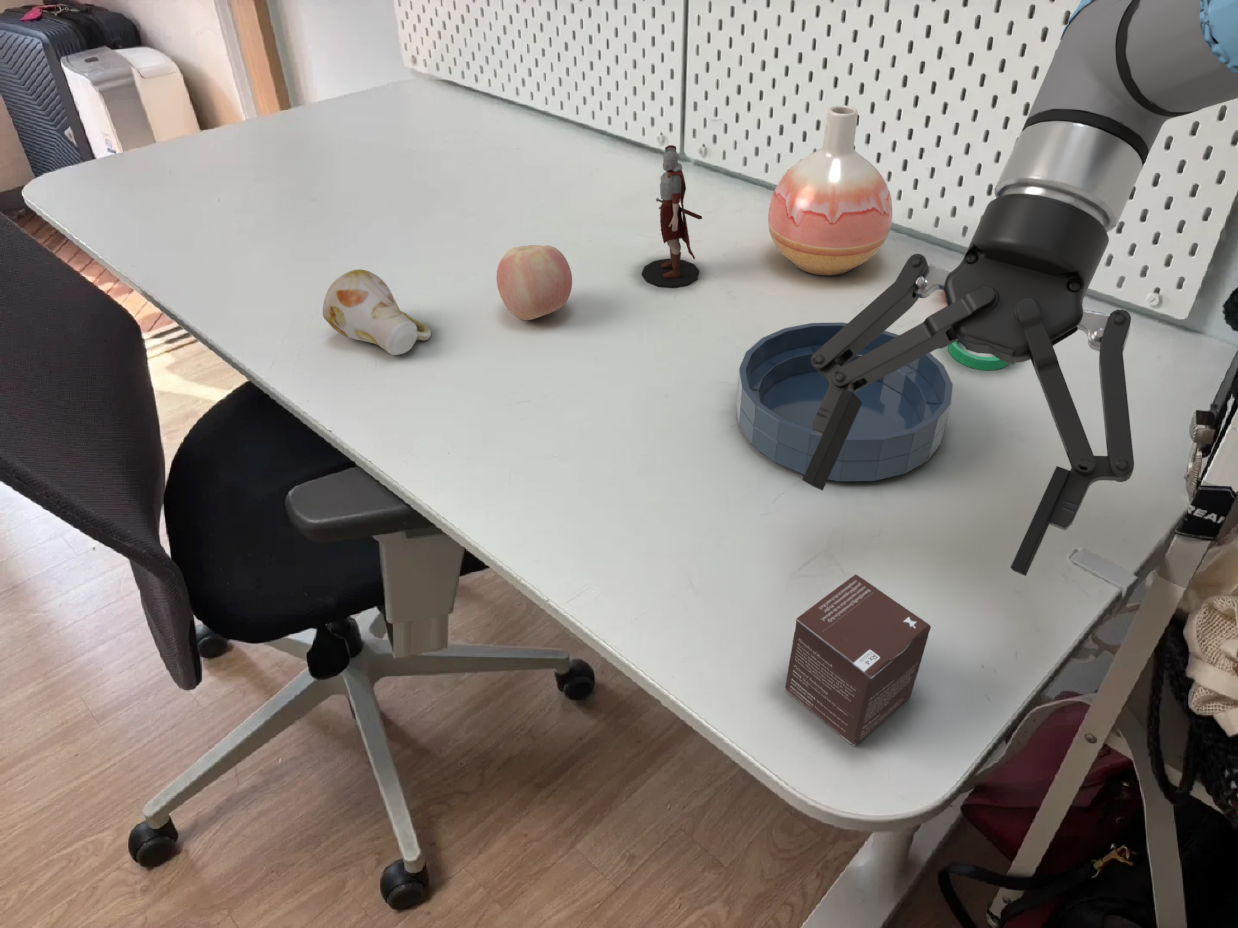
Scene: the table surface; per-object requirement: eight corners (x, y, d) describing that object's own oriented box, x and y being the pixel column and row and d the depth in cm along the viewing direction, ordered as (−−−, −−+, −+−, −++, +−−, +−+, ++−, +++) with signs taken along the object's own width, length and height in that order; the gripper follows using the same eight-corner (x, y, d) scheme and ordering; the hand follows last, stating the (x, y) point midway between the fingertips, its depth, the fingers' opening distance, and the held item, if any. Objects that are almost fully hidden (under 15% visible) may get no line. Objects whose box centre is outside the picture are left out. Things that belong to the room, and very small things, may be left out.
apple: (582, 301, 103) (578, 234, 98) (561, 337, 97) (556, 268, 92) (513, 294, 105) (507, 227, 99) (490, 329, 99) (481, 260, 94)
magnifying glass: (1020, 370, 91) (1024, 355, 90) (957, 371, 91) (961, 356, 90) (976, 293, 103) (979, 279, 101) (920, 294, 103) (923, 280, 102)
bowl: (970, 406, 86) (983, 361, 83) (889, 516, 75) (900, 468, 72) (795, 346, 95) (800, 303, 92) (699, 437, 84) (700, 391, 81)
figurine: (639, 261, 110) (638, 134, 100) (700, 258, 110) (705, 132, 101) (644, 289, 105) (643, 158, 95) (708, 286, 105) (714, 155, 95)
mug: (393, 376, 93) (329, 293, 88) (360, 375, 101) (300, 298, 96) (447, 331, 95) (388, 248, 91) (411, 333, 103) (355, 257, 99)
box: (841, 644, 65) (856, 570, 61) (913, 698, 62) (934, 625, 57) (782, 690, 62) (793, 617, 58) (853, 750, 59) (871, 677, 54)
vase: (748, 278, 106) (759, 122, 95) (784, 229, 116) (798, 82, 105) (867, 301, 102) (894, 140, 90) (895, 248, 111) (922, 97, 100)
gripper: (1264, 293, 56) (1116, 616, 56) (875, 196, 67) (755, 463, 68) (1289, 245, 49) (1121, 611, 50) (853, 146, 61) (720, 443, 61)
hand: (909, 527), depth 59 cm, fingers open, 13 cm apart
